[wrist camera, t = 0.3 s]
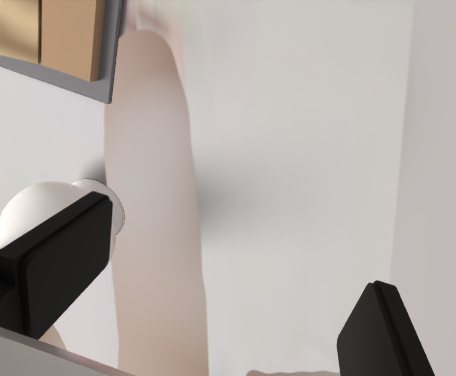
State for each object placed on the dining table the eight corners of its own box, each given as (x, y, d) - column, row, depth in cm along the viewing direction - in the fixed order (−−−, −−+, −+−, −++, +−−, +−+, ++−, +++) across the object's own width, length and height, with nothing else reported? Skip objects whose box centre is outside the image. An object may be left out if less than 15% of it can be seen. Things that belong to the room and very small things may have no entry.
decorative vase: (97, 148, 52) (-54, 215, 30) (155, 230, 56) (61, 344, 34) (35, 189, 59) (-128, 271, 36) (91, 260, 63) (-24, 372, 40)
